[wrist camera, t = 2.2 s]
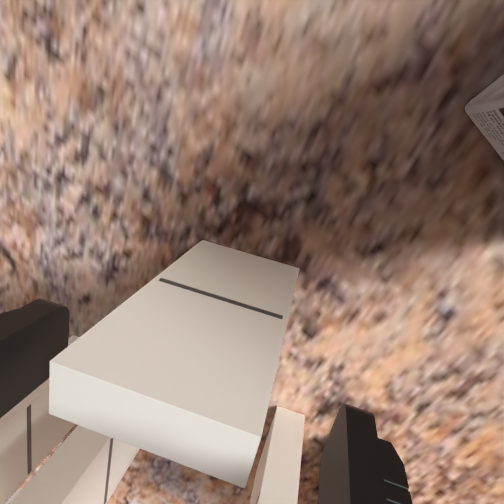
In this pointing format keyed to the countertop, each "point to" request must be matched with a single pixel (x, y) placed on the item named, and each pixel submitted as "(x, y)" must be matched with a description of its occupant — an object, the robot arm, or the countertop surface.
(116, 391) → the domino
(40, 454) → the domino
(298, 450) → the domino
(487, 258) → the countertop surface
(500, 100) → the coffee box
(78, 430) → the domino
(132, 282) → the countertop surface
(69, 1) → the countertop surface
